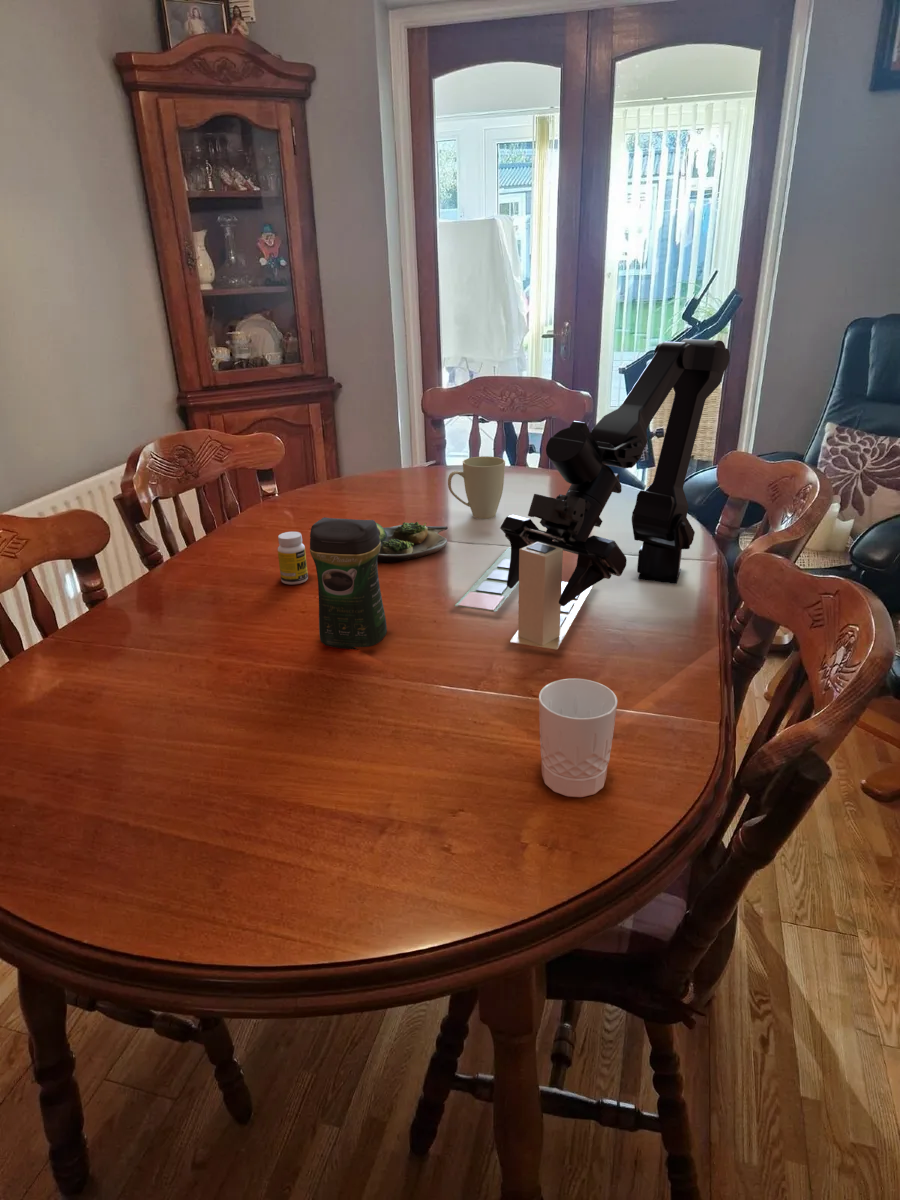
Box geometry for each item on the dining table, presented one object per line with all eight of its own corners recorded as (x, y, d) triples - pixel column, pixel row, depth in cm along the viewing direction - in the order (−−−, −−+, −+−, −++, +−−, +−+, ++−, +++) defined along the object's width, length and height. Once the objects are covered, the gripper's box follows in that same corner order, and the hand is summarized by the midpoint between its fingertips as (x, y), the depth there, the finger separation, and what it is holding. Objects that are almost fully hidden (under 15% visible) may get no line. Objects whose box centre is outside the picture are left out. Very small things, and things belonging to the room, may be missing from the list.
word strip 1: (508, 552, 143) (508, 546, 143) (543, 556, 141) (544, 550, 140) (454, 611, 120) (454, 604, 119) (496, 617, 117) (496, 610, 117)
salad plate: (430, 524, 159) (430, 503, 158) (470, 550, 145) (469, 527, 143) (343, 539, 152) (342, 518, 150) (375, 568, 137) (374, 544, 135)
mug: (475, 506, 170) (474, 454, 165) (512, 513, 165) (513, 459, 160) (446, 519, 162) (445, 464, 157) (485, 527, 157) (484, 470, 152)
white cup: (530, 758, 84) (532, 680, 80) (600, 753, 84) (605, 675, 80) (544, 804, 77) (547, 721, 73) (620, 798, 77) (627, 716, 73)
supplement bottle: (302, 586, 131) (297, 540, 127) (276, 584, 131) (271, 539, 128) (312, 575, 135) (307, 531, 131) (287, 574, 136) (282, 530, 132)
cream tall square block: (535, 627, 112) (537, 540, 106) (559, 636, 109) (563, 547, 103) (517, 636, 109) (519, 547, 103) (542, 646, 106) (545, 555, 100)
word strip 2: (552, 585, 128) (552, 579, 128) (593, 590, 126) (593, 584, 125) (509, 648, 108) (509, 640, 107) (557, 655, 105) (557, 648, 105)
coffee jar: (393, 630, 114) (386, 513, 106) (375, 655, 107) (366, 531, 99) (333, 625, 116) (322, 509, 109) (312, 648, 109) (299, 526, 102)
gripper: (509, 460, 108) (456, 552, 105) (621, 482, 96) (565, 587, 93) (541, 501, 116) (494, 587, 113) (648, 526, 104) (598, 624, 101)
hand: (534, 595), depth 105 cm, fingers open, 9 cm apart
